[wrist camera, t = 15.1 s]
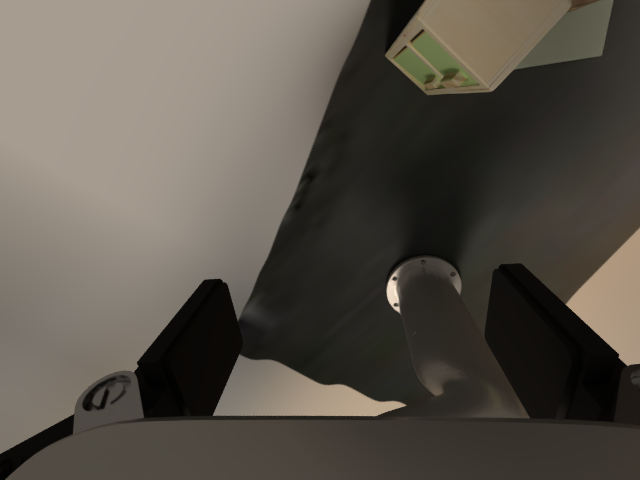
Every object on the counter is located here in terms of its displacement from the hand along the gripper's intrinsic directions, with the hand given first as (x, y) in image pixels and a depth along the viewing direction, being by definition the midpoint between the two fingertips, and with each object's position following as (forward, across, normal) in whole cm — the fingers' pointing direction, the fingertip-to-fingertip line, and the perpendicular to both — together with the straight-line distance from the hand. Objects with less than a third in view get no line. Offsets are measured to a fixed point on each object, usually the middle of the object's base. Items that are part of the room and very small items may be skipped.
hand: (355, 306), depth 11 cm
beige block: (+38, -10, -11) cm, 40 cm away
